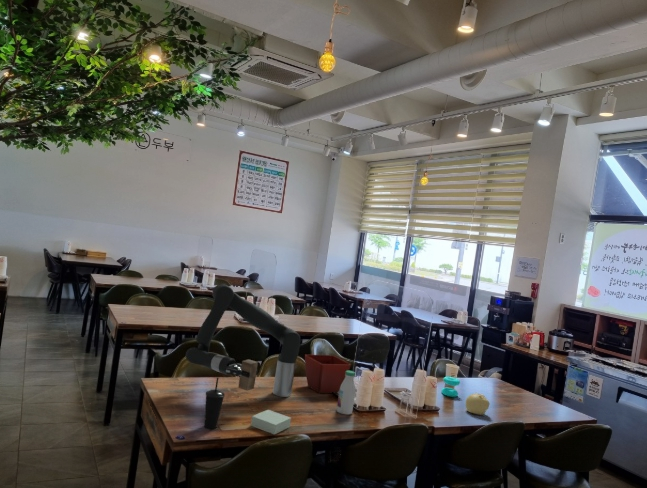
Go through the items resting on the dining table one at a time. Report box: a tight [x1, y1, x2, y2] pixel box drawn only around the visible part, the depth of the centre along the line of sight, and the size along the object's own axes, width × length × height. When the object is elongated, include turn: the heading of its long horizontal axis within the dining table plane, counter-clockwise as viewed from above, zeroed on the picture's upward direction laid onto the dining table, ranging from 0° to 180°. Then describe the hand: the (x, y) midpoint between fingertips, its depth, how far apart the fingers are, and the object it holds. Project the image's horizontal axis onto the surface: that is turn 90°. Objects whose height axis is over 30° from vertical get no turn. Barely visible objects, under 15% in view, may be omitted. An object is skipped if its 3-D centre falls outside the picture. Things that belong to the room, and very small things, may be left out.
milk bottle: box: [336, 370, 356, 416], centre depth 247 cm, size 8×8×20 cm
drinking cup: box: [203, 377, 226, 430], centre depth 205 cm, size 8×8×20 cm
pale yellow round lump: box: [464, 392, 490, 416], centre depth 279 cm, size 11×12×11 cm
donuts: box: [441, 376, 461, 398], centre depth 308 cm, size 10×10×10 cm
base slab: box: [250, 409, 292, 435], centre depth 215 cm, size 12×12×4 cm
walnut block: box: [237, 359, 259, 392], centre depth 227 cm, size 5×5×12 cm
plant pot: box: [304, 354, 351, 394], centre depth 279 cm, size 19×19×17 cm
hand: (253, 374), depth 226 cm, fingers closed on walnut block, 5 cm apart
